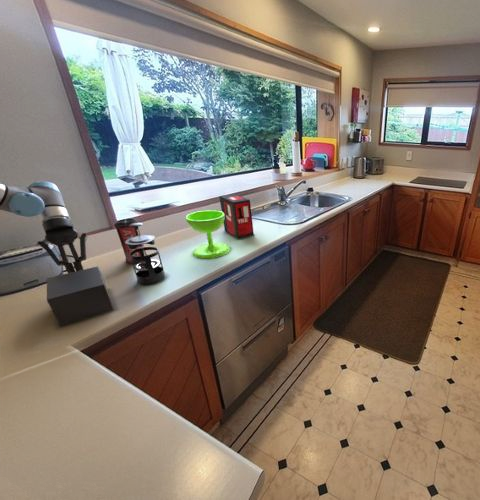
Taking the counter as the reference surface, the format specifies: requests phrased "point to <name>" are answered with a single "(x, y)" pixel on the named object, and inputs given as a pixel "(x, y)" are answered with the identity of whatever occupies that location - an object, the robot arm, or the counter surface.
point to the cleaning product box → (237, 215)
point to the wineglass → (208, 232)
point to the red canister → (127, 237)
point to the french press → (145, 259)
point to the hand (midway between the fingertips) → (78, 279)
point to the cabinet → (78, 295)
